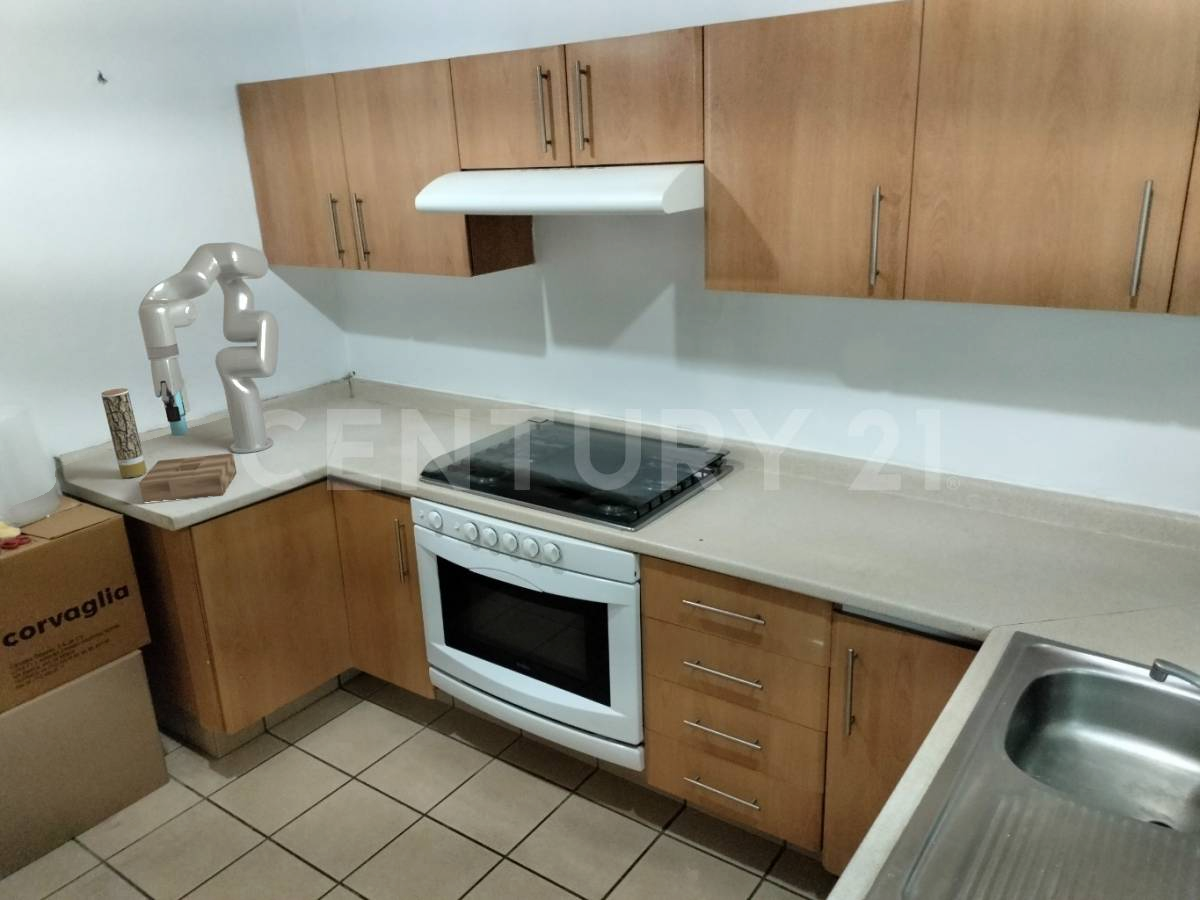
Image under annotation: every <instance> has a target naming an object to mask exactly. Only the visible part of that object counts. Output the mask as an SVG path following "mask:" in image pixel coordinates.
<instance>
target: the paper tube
mask: <svg viewBox="0 0 1200 900" xmlns="http://www.w3.org/2000/svg"><path fill="white" fill-rule="evenodd" d="M130 397H131V396H130V392H129V389H128V388H114V389H109V390H105V391H102V392H101V400H102V403H103V408H104V411H105V416H106V420H107V424H108V428H109V433H110V437H111V440H112V444H113V449H114V454H115V457H116V461H117V465H118V469H119V472H120V477H122V478H123V477H126V478H125V479H129V478H128V477H135V478H138V477H137V476H139V477H141V476H140V475H142V476H143V474H144V475H146V474H147V467H146V461H145V458H144V454H143V449H142V445H141V440H140V436H139V431H138V427H137V423H136V418H135V415H134V409H133V406H132V402H131V398H130Z"/></svg>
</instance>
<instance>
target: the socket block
mask: <svg viewBox="0 0 1200 900" xmlns="http://www.w3.org/2000/svg"><path fill="white" fill-rule="evenodd" d="M237 474H238V473H237V466H236V462H235V458H234V452H232V453H230V452H229V453H220V454H211V455H200V456H190V457H181V458H180V457H179V458H173V459H163V460H162V459H161V460H158V461H157V462H156V463H155V464H154V465H153V466H152V467H151V469H149V471H148V472H146V473H145V474H144V476H143V477H142V479H141V480H140V481H139V482H138V484H139V485H138V486H139V489H140V493H141V497H142V500H143V501H142V502H143V503H144V502H151V501H163V500H176V499H185V500H191V499H190V498H194V499H200V498H199V497H204V498H209V497H208V496H213V497H220V496H221V495H222V496H224V495H225V493H226V492H227V490H228V488H229V487H230V485H231V483H232V481H233V480H234V478H235V477H236V475H237ZM234 476H235V477H234ZM229 484H230V485H229ZM226 489H227V490H226ZM223 494H224V495H223ZM176 501H177V500H176Z"/></svg>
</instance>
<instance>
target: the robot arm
mask: <svg viewBox="0 0 1200 900" xmlns="http://www.w3.org/2000/svg"><path fill="white" fill-rule="evenodd" d="M268 271H269V261H268V258H267V256H266V255H265V254H264V252H263V251H261V249H260V250H259V249H257V248H255V247H252V246H248V245H245V244H243V243H240V242H239V243H238V242H228V241H227V242H211V243H210V242H207V243H204V244H201V245H199V246H198V247H197V248H196V249H195V251H194V252H193V253H192V254H191V256H190V258H189V259H188V260H187V262H186V264H185V265H184V266H183V267H182V269H181V270H180V271H179V272H177V273H174V274H173V275H171V276H170V277H168V278H166V279H164V280H162V281H161V282H159V283H157V284H156V285H154V286H153V287H152V288H151V289H149V291H148V292H147V293H146V295H145V296H144V297H143V299H142V300H141V302H140V304H139V307H138V310H137V313H138V319H139V322H140V323H139V324H140V328H141V333H142V335H143V341H144V347H145V351H146V356H147V359H148V361H150V370H151V377H152V385H153V389H154V396H155V397H156V398H160V397H161V401H162V402H163V406H164V410H165V414H166V419H167V422H168V423H170V422H177V421H181V417H180V412H179V407H178V406H177V404H176V398H175V395H176V394H177V393H178V392H179V391H180V395H181V400H182V405H183V409H184V413H185V416H186V410H185V405H184V404H185V403H184V401H183V396H182V390H183V388H184V382H183V376H182V371H181V368H180V364H179V360H178V357H180V351H179V347H178V341H177V336H176V333H175V329H178V328H185V327H186V328H187V327H190V326H191V325H192V324H194V322H195V321H196V319H197V316H198V310H197V307H196V305H195V303H193V302H192V301H191V300H192V299H195V298H197V297H200V296H203V295H205V294H207V292H208V291H209V290H210V289H211V288H212V286H213V284H214V283H215V282H216V281H217V283H218V284H219V287H220V289H221V291H222V295H223V317H222V318H223V319H222V332H223V337H224V338H225V339H226V341H227V342H230V343H236V344H244V343H245V344H246V343H247V344H248V343H249V344H251V343H252V344H253V343H256V345H253V346H252V345H251V346H250V345H249V346H247V345H243V346H241V345H240V346H237V345H236V346H235V345H234V346H227V347H224V348H222V349H220V350H219V351H218V352H217V353H216V356H215V366H216V370H217V372H218V375H219V378H220V379H221V382H222V386H223V389H224V395H225V399H226V404H227V410H228V414H229V415H228V416H229V420H230V424H231V431H232V435H233V440H234V442H233V443H231V445H230V446H229V449H230V452H232V453H235V454H248V453H254V452H259V451H263V450H266V449H269V448H270V447H272V446H273V445H274V439H273V438H271V437H268V434H267V429H266V425H265V424H266V423H265V417H264V414H263V408H262V401H261V396H260V391H259V388H258V387H257V384H256V383H255V381H253V379H260V378H262V379H263V378H264V379H265V378H270V377H272V376H273V375H274V374H275V373H276V370H277V367H278V353H279V352H278V350H279V349H278V348H279V326H278V325H279V323H278V321H277V319H276V317H275V314H273V313H272V312H271V311H268V310H261V309H260V310H255V295H254V293H253V291H252V290H251V288H250V287H249V286H248V285H247V283H246V282H245V281H244V280H250V279H251V280H253V279H254V280H255V279H262V278H263V277H265V276H266V275H267V273H268ZM168 393H171V395H170V396H168ZM169 398H172V400H171V399H169Z"/></svg>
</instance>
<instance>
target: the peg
mask: <svg viewBox="0 0 1200 900" xmlns="http://www.w3.org/2000/svg"><path fill="white" fill-rule="evenodd" d="M170 395H171V393H168V396H170ZM181 395H182V394H181ZM181 395H180V391H179V392H178V393H177V394H176V395H175V398H176V404H177V406H178V407H179V412H180V417H181V421H177V422H169V426H170V431H171V435H172V436H173V437H179V436H180V437H181V436H184V435H187V434H189V429H188V425H187V420H186V415H185V413H186V412H185V413H184V409H185V408H184V409H183V405H182V400H181ZM169 399H171V400H172V398H169Z"/></svg>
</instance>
